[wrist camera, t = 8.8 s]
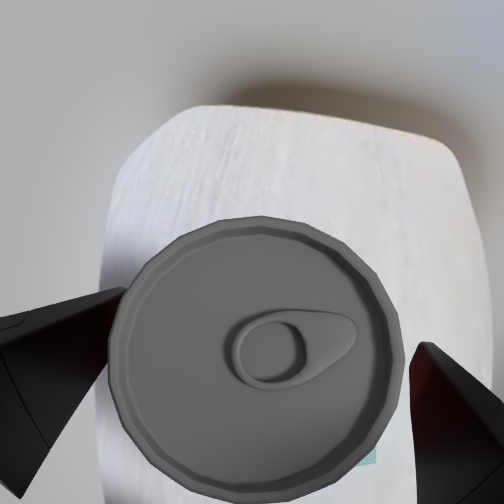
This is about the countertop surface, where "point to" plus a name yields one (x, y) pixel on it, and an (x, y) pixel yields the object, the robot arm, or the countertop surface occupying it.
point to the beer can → (255, 360)
